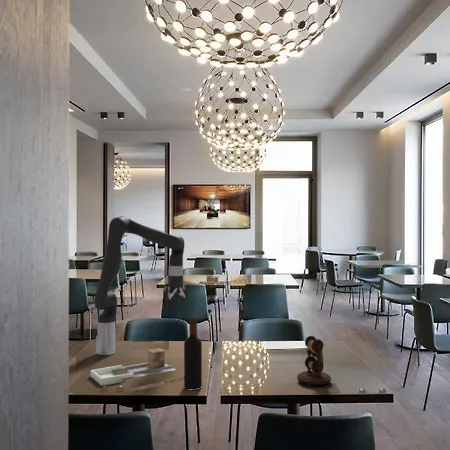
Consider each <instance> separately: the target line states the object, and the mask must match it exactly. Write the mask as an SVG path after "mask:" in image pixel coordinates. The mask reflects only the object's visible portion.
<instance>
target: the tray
mask: <svg viewBox="0 0 450 450" xmlns="http://www.w3.org/2000/svg"><path fill="white" fill-rule="evenodd" d="M123 367H124V366H123V364H118V365H113V366H107V367H102V368H95V369H90V377H91V378H92V379H93V380H94V381H95V382H96V383H98V385H100V386H101V387H104V386H108V385H114V384H118V383H123V382H126V380H124V379H128V378H134V377H135V376H134V373H129V372H127V373H123V374H117V373H115V372H114V371H116V370H117V371H118V370H122V369H124V368H123Z"/></svg>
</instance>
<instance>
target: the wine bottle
mask: <svg viewBox="0 0 450 450" xmlns="http://www.w3.org/2000/svg"><path fill="white" fill-rule="evenodd" d="M202 346H203V344H202V340H201V339H200V338H199V337H198V336H197V317H193V316H192V317H191V316H190V317H189V336H188V337H187V338H186V339H185V340H184V343H183V358H184V359H183V376H184V377H183V382H184V384H183V388H184V387H185V388H186V389H185V388H184V389H185V390H187V389H197V388H200V387H201V386H202V382H203V380H202V379H203V377H202V376H203V375H202V374H203V373H202V369H203V368H202V367H203V365H202V364H203V359H202V356H203V355H202V354H203V353H202V350H203V347H202Z"/></svg>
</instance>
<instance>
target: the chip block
mask: <svg viewBox="0 0 450 450" xmlns="http://www.w3.org/2000/svg"><path fill="white" fill-rule="evenodd" d="M165 351H166V350H164V349H162V348H160V347H158V348H151V349H148V350H147V363H148V367H150V368H151V369H152V368H157V367H163V366H165V364H166V363H165V362H166V361H165V360H166V358H165V357H166V352H165Z"/></svg>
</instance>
